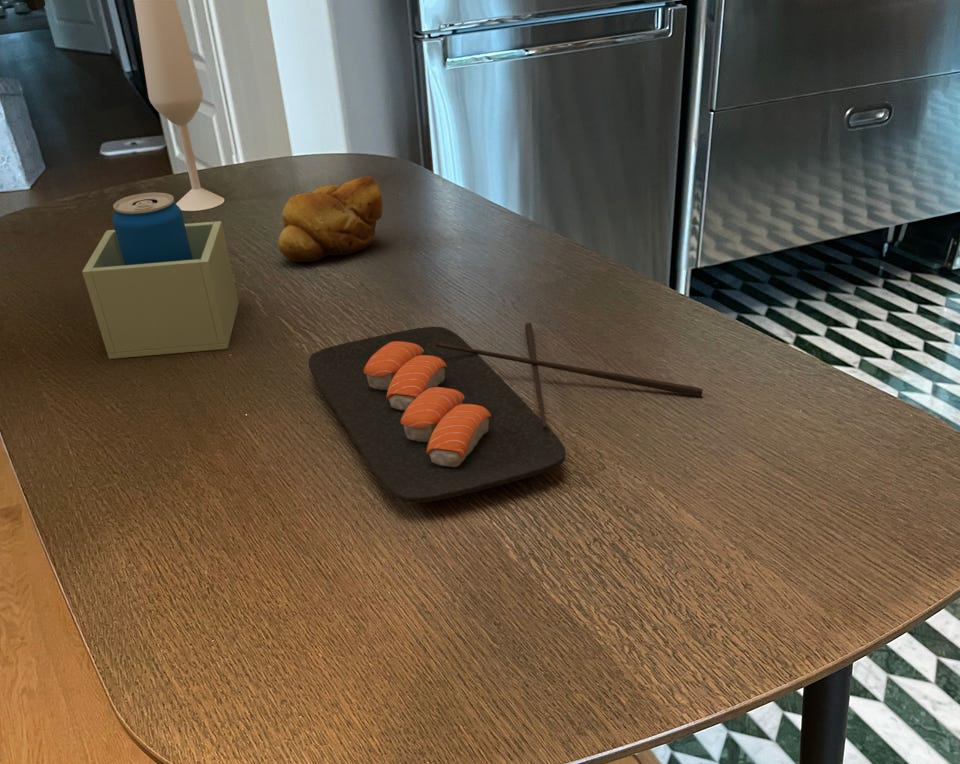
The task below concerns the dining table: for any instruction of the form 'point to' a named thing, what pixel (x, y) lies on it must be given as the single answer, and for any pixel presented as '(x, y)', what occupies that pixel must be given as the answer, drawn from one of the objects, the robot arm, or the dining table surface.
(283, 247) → the bread roll
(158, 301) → the trash bin
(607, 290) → the dining table surface
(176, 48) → the champagne flute
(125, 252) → the beverage can
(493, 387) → the sushi plate
